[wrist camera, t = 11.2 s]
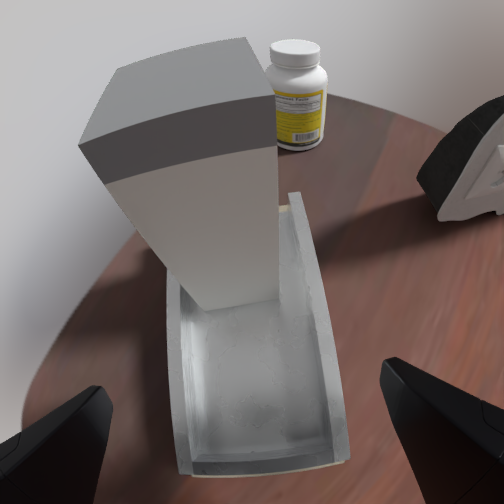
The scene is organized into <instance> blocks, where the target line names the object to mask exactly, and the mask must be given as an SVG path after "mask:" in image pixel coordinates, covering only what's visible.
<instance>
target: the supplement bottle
mask: <svg viewBox="0 0 504 504" xmlns="http://www.w3.org/2000/svg"><path fill="white" fill-rule="evenodd" d="M270 58H271V62H272V63H273V64H272V65H270V66H269V67H268V68H267V69H266V71H265V75H266V77H267V79H268V81H269V83H270V85H271V87H272V89H273V91H274V93H275V100H276V124H277V145H278V146H280V147H282V148H285V149H288V150H294V151H301V150H308V149H311V148H313V147H315V146H317V145H318V144H319V143H320V142H321V140H322V138H323V133H324V124H325V111H326V98H327V83H328V81H327V80H328V77H327V74H326V72H325V70H324V69H323V68H321V67H320V66H319V63H320V48H319V46H318V45H317V44H315V43H313V42H309V41H305V40H296V39H289V40H281V41H277V42H274V43H272V44H271V45H270Z"/></svg>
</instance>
